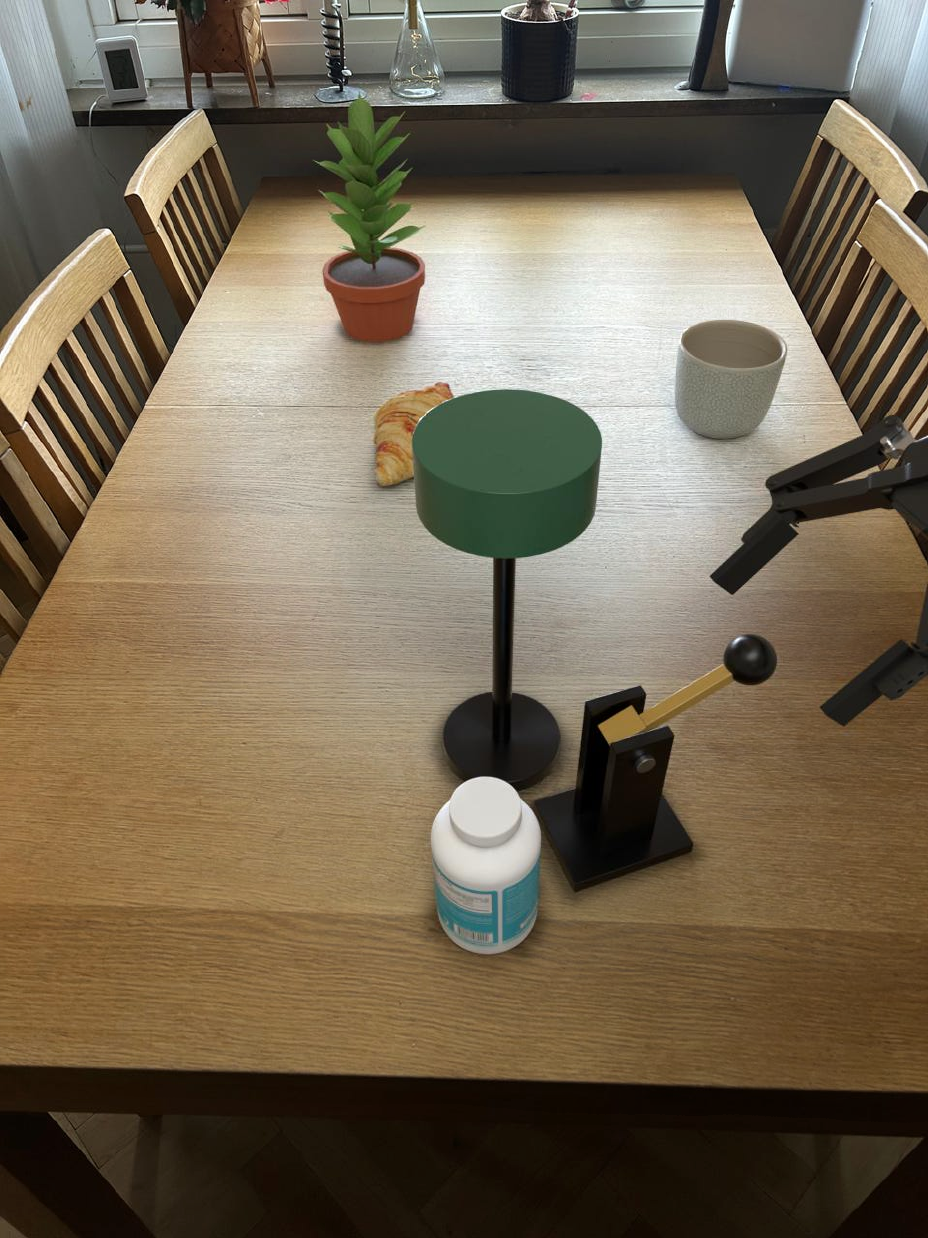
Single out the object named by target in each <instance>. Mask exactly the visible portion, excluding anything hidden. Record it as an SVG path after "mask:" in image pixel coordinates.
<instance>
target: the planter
mask: <svg viewBox="0 0 928 1238" xmlns="http://www.w3.org/2000/svg"><path fill="white" fill-rule="evenodd" d="M676 354H677V355H676V363H675V364H676V365H675V379H674V407H675V411H676V413H677V415H678V417H679V419H680V421H681V422H682V423H683V424H684V425H685V426H686V427H687V428H689V429H690V430H691V431H693V432H695V433H696V434H699V435H701V436H704V437H707V438H712V439H720V440H729V439H734V438H739V437H741V436H744V435H747V434H749V433H751V432H752V431H754V430H756V429H757V428H758V427H759V426H760V425H761V424H762V423H763V422H764V420H765V418H766V416H767V415H768V413H769V410H770V408H771V406H772V404H773V403H772V402H773V401H774V397H775V395H776V391H777V389H778V386H779V382H780V381H781V376H782V373H783V370H784V367H785V364H786V363H785V362H786V359H787V355H788V345H787V342H786V341H785V340H784V338H783V337H782V336H780V335H779V334H778V333H776V332H775V331H773V330H772V329H770V328H767V327H765V326H763V325H760V324H756V323H753V322H749V321H744V320H737V319H712V320H706V321H702V322H698V323H695V324H692V325H691V326H689V327H687V328H686V329H685V330H684V331H683V332H682V333H681V335H680V336H679V340H678V347H677V353H676Z"/></svg>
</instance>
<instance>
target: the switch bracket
mask: <svg viewBox="0 0 928 1238" xmlns="http://www.w3.org/2000/svg"><path fill="white" fill-rule="evenodd" d="M646 700H647V693H646V691H645V689H644V687H643V686H642V685H640V684H638V685H635V686H632V687H628V688H625V689H622V690H617V691H614V692H611V693H607V694H605V695H604V694H603V695H601V696H598V697H594V698H590V699H587V700H585V701H584V708H583V715H582V716H583V718H582V727H581V734H580V744H579V752H578V753H579V754H578V763H577V771H576V779H575V787H574V788H573V787H572V788H570V789H567V790H564V791H559V792H557V793H554V794H551V795H547V796H545V797H541V798H539V799H536V800H533V804H532V806H533V807H532V811H533V813H534V814H535V816H536V818H537V821H538V823H539V825H540V826H541V828H542V830H543V832H544V834H545V836H546V838H547V840H548V842H549V845H550V847H551V849H552V850H553V852H554V854H555V856H556V858H557V860H558V862H559V864H560V866H561V868H562V870H563V872H564V874H565V876H566V879H567V881H568V883H569V885H570V886H571V889H572V891H573V892H574V893H577V892H581V891H583V890H586V889H589V888H591V887H595V886H597V885H601V884H603V883H606V882H609V881H613V880H615V879H618V878H621V877H623V876H626V875H629V874H633V873H635V872H638V871H641V870H644V869H646V868H650V867H653V866H655V865H659V864H662V863H664V862H667V861H670V860H673V859H675V858H678V857H682V856H684V855H688V854H691V853H692V851H693V849H694V845H695V844H694V842H693V840H692V839H691V837H690V835H689V834H688V832H687V830H686V829H685V827H684V825H683V824H682V822H681V821H680V820H679V818H678V816H677V815H676V813H675V812H674V810H673V808H672V807H671V805H670V804H669V802H668V800H667V798H666V797H665V796H664V794H663V790H664V786H665V783H666V778H667V773H668V768H669V763H670V759H671V754H672V749H673V746H674V745H673V744H674V741H675V734H674V732H673V731H672V729H671V727H670V726H669V725H668V724H667V725H664V726H659V727H657V728H655V729H654V730H651V731H647V732H644V733H641V734H638V735H634V736H631V737H628V738H624V739H621V740H618V741H615V742H611V743H610V745H609V744H608V742H607V740H606V739H605V737H604V735H603V734H602V732H601V731H600V729H599V727H598V725H599V724H601V723H603V722H604V721H606V720H608V719H609V718H611V717H613V716H614V715H616V714H618V713H619V712H621V711H622V710H624V709H626V708H627V707H629V706H631V705H632V706H633V708H634V709H635V711H636V712H637V714H638V715H640V714H641V713H643V712H645V706H646Z"/></svg>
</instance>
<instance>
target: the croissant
mask: <svg viewBox="0 0 928 1238" xmlns="http://www.w3.org/2000/svg"><path fill="white" fill-rule="evenodd" d="M452 398H455V395H454V394H453V392H452V390H451V385H450V384H449V382H442V381H437V382H436V383H434V385H430V386H426V387H424V388H423V389H413V390H408V391H404V392H400V393H398V394H396V395H394V396H392V397H390V398H389V399H387V400H386V401H385V402H384V403H382V404H381V406H380V407H379V408H378V409H377V410H376V412H375V413H374V415H373V429H374V430H375V431H374V436H373V444H374V445H375V446H376V452H375V454H374V461H375V462H376V468H375V470H374V474H375V480H376V482H377V483H378V484H379V485H380V486H382V487H383V486H384V487H388V486H393V485H397V484H399V483H401V482H403V481H407V480H410V479H412V478H414V469H413V454H412V436H413V432H414V429H415V427H416V425H417V424H418V422H419V421H420V420H421V418H422V417H423V416H424V415H425V414H426V413H427V412H429V411H430V410H431V409H433V408H434V407H436V406H437V405H439V404H441V403H443V402H445V401H447V400H450V399H452Z"/></svg>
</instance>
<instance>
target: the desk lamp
mask: <svg viewBox="0 0 928 1238" xmlns="http://www.w3.org/2000/svg"><path fill="white" fill-rule="evenodd" d="M602 449H603V438H602V432H601V431H600V428H599V426H598V424H597V423H596V422H595V420H594V418H592V417H591V416H590V415H589V414H588V413H587V412H586V411H585V410H583V408H580V407H579V406H577V405H575V404H574V403H573V402H570V401H568V400H566V399H563V398H560V397H558V396H555V395H552V394H548V393H545V392H540V391H536V390H528V389H517V388H495V389H484V390H479V391H473V392H468V393H465V394H464V393H463V394H461V395H458V396H454V398H452V399H450V400H447V401H445V402H443V403H441V404H439V405H437V406H436V407H434V408H433V409H431V410H430V411H429V412H427V413H426V414H425V415H424V416H423V417H422V418H421V420H420V421H419V422H418V424H417V425H416V427H415V429H414V432H413V436H412V454H413V469H414V477H413V483H414V497H415V498H414V500H415V508H416V514H417V517H418V518H419V521H420V522H421V524H422V525H423V527H424V528H425V529H426V531H428V533H429V534H430V535H432V536H433V537H434V538H435V539H437V540H438V541H439V542H441V543H443V544H445V545H446V546H448V547H451V548H452V549H455V550H456V551H460V552H463V553H466V554H469V555H474V556H477V557H483V558H490V559H492V666H491V667H492V669H491V670H492V672H491V673H492V674H491V677H492V678H491V679H492V680H491V682H492V685H491V688H492V689H491V691H485V692H482V693H478V694H476V695H473V696H471V697H469V698H467V699H465V700H463V701H462V702H461V703H459V704H458V705H457V706H456V707H455V708H453V710H452V711H451V712H450V713H449V715H448V716H447V719H446V721H445V723H444V726H443V731H442V748H443V754H444V758H445V762H446V763H447V765H448V767H449V769H450V770H451V771H452V772H453V774H454V775H455V776H456V777H457V778H458V779H460V780H461V781H463V783H464V782H466V781H468V780H470V779H474V778H477V777H493V778H497V779H500V780H503V781H505V782H506V783H508V784H510V785H511V786H512V787H513V788H514V789H515V790H516V792H517V793H518V792H520V791H524V790H527V789H530V788H531V787H533V786H535V785H537V784H539V783H540V782H542V781H543V780H544V779H545V778H547V776H549V774H550V773H551V772H552V771H553V769H554V768H555V766H556V764H557V762H558V759H559V755H560V749H561V730H560V727H559V724H558V722H557V720H556V718H555V717H554V715H553V713H552V712H551V711H550V710H549V709H548V708H547V707H546V706H545V704H543V703H541V702H539V700H537V699H535V698H533V697H531V696H529V695H526V694H523V693H519V692H515V691H513V676H514V675H513V674H514V673H513V671H514V641H515V639H514V638H515V637H514V636H515V605H516V604H515V601H516V569H517V567H516V565H517V559H523V558H530V557H536V556H540V555H543V554H547V553H550V552H553V551H556V550H559V549H560V548H563V547H565V546H567V545H568V544H570V543H572V542H574V541H575V540H576V539H577V538H579V537H580V536H581V535H582V534H583V533H584V532H585V531H586V530H587V529H588V528H589V526H590V524H592V521H593V519H594V517H595V513H596V510H597V509H596V508H597V501H598V500H597V499H598V490H599V481H600V469H601V459H602Z"/></svg>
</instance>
